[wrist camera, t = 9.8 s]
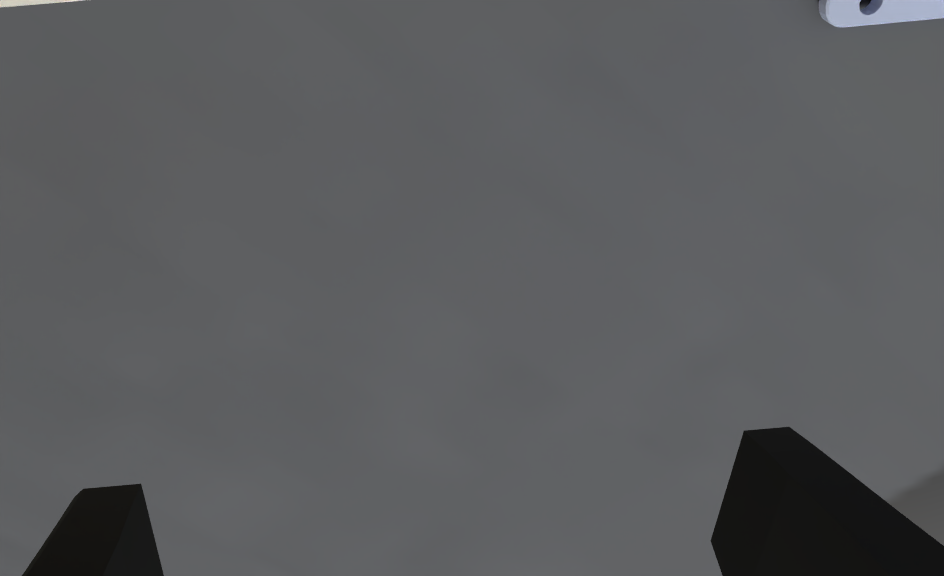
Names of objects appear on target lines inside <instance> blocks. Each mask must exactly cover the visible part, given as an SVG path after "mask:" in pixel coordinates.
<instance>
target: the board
mask: <svg viewBox="0 0 944 576" xmlns="http://www.w3.org/2000/svg"><path fill="white" fill-rule="evenodd" d="M71 1H83V0H0V7H10V6H22V5H34V4H47V3H59V2H71Z"/></svg>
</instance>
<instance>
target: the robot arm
mask: <svg viewBox="0 0 944 576" xmlns="http://www.w3.org/2000/svg"><path fill="white" fill-rule="evenodd" d="M860 1H861V0H819V12H820V15H821V17H822V18H823V19H824V20H825V21H827V22H828V23H830V24H832V25H833V26H836V27H853V26H863V25H874V24H885V23H895V22H906V21H917V20H928V19H938V18H944V0H871V2H870V3H869V4H868V5H867V6H866V7H865V8H863V9H861V10H860V9H859V3H860ZM711 543H712V546H713V549H714V552H715V555H716V558H717V560H718V563H719V566H720V569H721V572H722V575H723V576H944V546H943V545H942V544H940V543H939V542H938V541H936V540H935V539H934V538H933V537H931V536H930V535H928V534H927V533H926V532H925V531H923V530H922V529H921V528H919V527H918V526H917V525H915V524H914V523H913V522H912V521H910V520H909V519H908V518H906V517H905V516H904V515H903V514H901V513H900V512H899V511H897V510H896V509H895V508H894V507H892V506H891V505H890V504H888V503H887V502H886V501H885V500H883V499H882V498H881V497H879V496H878V495H877V494H876V493H874V492H873V491H872V490H871V489H869V488H868V487H867V486H865V485H864V484H863V483H862V482H860V481H859V480H858V479H857V478H855V477H854V476H853V475H851V474H850V473H849V472H848V471H846V470H845V469H844V468H842V467H841V466H840V465H839V464H837V463H836V462H835V461H834V460H832V459H831V458H830V457H828V456H827V455H826V454H825V453H823V452H822V451H821V450H819V449H818V448H817V447H815V446H814V445H813V444H811V443H810V442H809V441H808V440H806V439H805V438H803V437H802V436H801V435H799V434H798V433H797V432H795V431H794V430H793V429H791V428H790V427H782V428H771V429H759V430H748V431H744V433H743V436H742V439H741V443H740V446H739V449H738V452H737V456H736V459H735V462H734V466H733V469H732V472H731V476H730V479H729V482H728V485H727V489H726V492H725V495H724V499H723V502H722V505H721V509H720V512H719V515H718V519H717V522H716V525H715V528H714V532H713V535H712V538H711ZM22 576H164V575H163V571H162V567H161V563H160V559H159V555H158V551H157V547H156V543H155V538H154V534H153V530H152V526H151V522H150V518H149V514H148V510H147V506H146V502H145V498H144V494H143V490H142V486H141V484H134V485H122V486H111V487H100V488H88V489H83V490H82V491H80V492H79V493H78V494H77V495H76V496H75V497H74V499H73V500H72V502H71V503H70V505H69V506H68V508H67V509H66V511H65V512H64V514H63V515H62V517H61V519H60V520H59V522H58V523H57V525H56V526H55V528H54V529H53V531H52V532H51V534H50V535H49V537H48V538H47V540H46V541H45V543H44V544H43V546H42V547H41V549H40V550H39V552H38V553H37V555H36V556H35V557H34V559H33V560H32V562H31V563H30V565H29V566H28V568H27V569H26V571H25V572H24V574H23V575H22Z"/></svg>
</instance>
